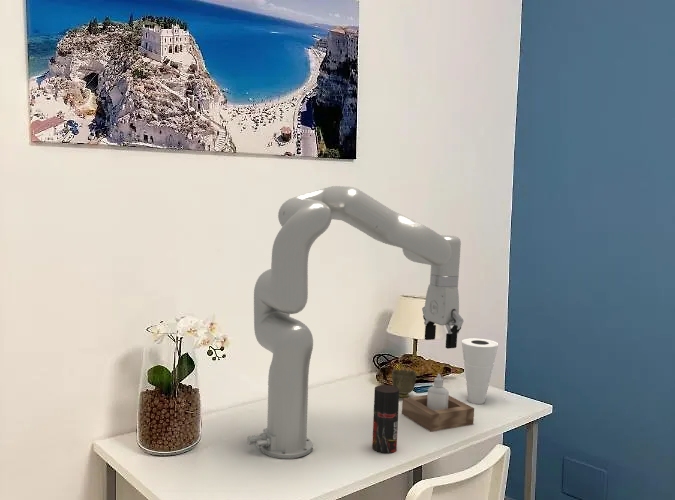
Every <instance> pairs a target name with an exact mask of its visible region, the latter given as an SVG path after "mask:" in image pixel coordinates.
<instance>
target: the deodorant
mask: <svg viewBox="0 0 675 500" xmlns="http://www.w3.org/2000/svg"><path fill="white" fill-rule="evenodd" d="M399 401H400V398H399V388H398V387H395V386H393V385H389V384H381V385H376V386H375V387H374V398H373V416H372V419H373V420H372V423H373V424H372V441H371V442H372V446H371V447H372V449H371V450H372V451H374V452H375V453H379V454H386V455H387V454H394V453H395V452H396V451H397V449H398V430H399V428H398V425H399V423H398V422H399V410H400V409H399V408H400V406H399V403H400V402H399Z"/></svg>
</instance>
